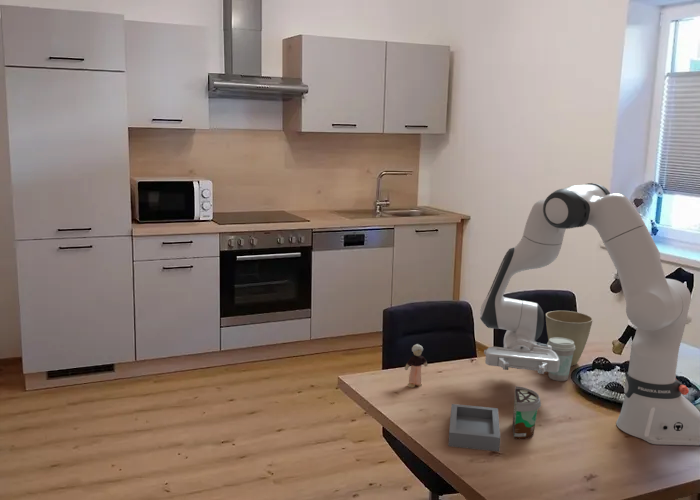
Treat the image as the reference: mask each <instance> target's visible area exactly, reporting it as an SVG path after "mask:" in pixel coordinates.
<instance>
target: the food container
mask: <svg viewBox="0 0 700 500" xmlns="http://www.w3.org/2000/svg"><path fill="white" fill-rule="evenodd" d="M514 388H515V389H514V401H513V402H514V403H513V416H512V418H513V419H512V430H513V431H512V432H513V440H528V439H530V438H532V437H533V436H534V435H535V434H534V433H535V427H536V420H537V416H538V415H537V414H538V409H539V408H541V406H542V403H541V398H540V396H539V393H538V392H536V391H534V390H532V389H530V388H528V387H523V386H518V385H515V387H514Z"/></svg>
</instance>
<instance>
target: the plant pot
mask: <svg viewBox="0 0 700 500" xmlns="http://www.w3.org/2000/svg"><path fill="white" fill-rule="evenodd" d="M593 320H594V319H593V317H592V316H590V315H588V314H585V313H583V312H578V311H573V310H571V311H570V310H553V311H548V312H546V313H545V322H546V323H545V324H546V334H547V340H548V341H549V339H550V338H555V337H559V338H566V339H570V340H572V341H573V342H574V345H575V350H574V353H573V358H572V362H571V367H573V365H574V366H576V365H577V364H578V362H579V361H580V358H581V357H582V354H583V352H584V350H585V347H586V344H587V342H588V339H589V336H590V334H591V333H590V332H591V328H592V324H593V322H594V321H593Z"/></svg>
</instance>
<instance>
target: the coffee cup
mask: <svg viewBox="0 0 700 500" xmlns="http://www.w3.org/2000/svg"><path fill="white" fill-rule="evenodd" d="M546 344H547V345H550V346H552V351H554V352H555V353H556V354H557V355H558V357H559V360H560V365H559V371H558V372H547V373H548V374H547V375H548V378H549V379H550V380H553V381H558V382H565V381H567V380H569V377H570V371H571V367H572V366H571V362H572V358H573V353H574V350H575V345H574V342H573V341H572V340H570V339H566V338H559V337H555V338H550V339H549V340H548V341H547V343H546Z"/></svg>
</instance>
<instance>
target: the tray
mask: <svg viewBox="0 0 700 500" xmlns="http://www.w3.org/2000/svg"><path fill="white" fill-rule="evenodd" d="M450 409H451V410H450V419H449V431H448V447H454V448H463V449H472V450H483V451H488V452H489V451H490V452H491V451H492V452H500V447H501V429H500V418H499V408H496V407H486V406H478V405H468V404H467V405H465V404H460V403H459V404H458V403H457V404H456V403H451V408H450Z"/></svg>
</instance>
